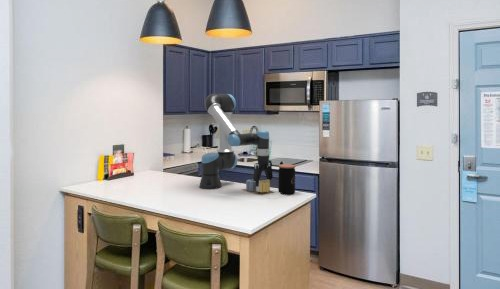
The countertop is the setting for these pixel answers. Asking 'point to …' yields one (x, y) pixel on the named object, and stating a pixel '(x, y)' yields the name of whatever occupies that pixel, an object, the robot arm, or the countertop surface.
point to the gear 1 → (251, 185)
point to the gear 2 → (264, 186)
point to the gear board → (258, 192)
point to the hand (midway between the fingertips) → (263, 190)
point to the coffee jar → (286, 179)
